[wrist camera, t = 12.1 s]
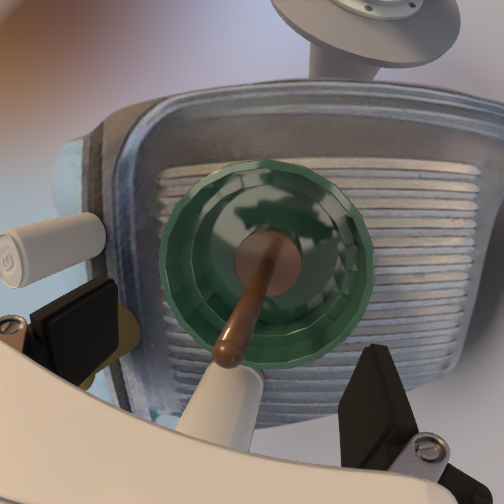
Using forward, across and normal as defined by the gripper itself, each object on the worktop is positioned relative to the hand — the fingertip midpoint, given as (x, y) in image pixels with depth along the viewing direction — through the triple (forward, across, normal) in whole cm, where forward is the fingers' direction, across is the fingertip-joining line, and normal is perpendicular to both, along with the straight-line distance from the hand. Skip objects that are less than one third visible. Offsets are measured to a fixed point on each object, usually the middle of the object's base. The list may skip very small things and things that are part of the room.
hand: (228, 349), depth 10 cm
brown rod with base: (+15, 0, +1) cm, 15 cm away
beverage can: (+16, +19, +3) cm, 25 cm away
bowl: (+16, 0, +1) cm, 16 cm away
